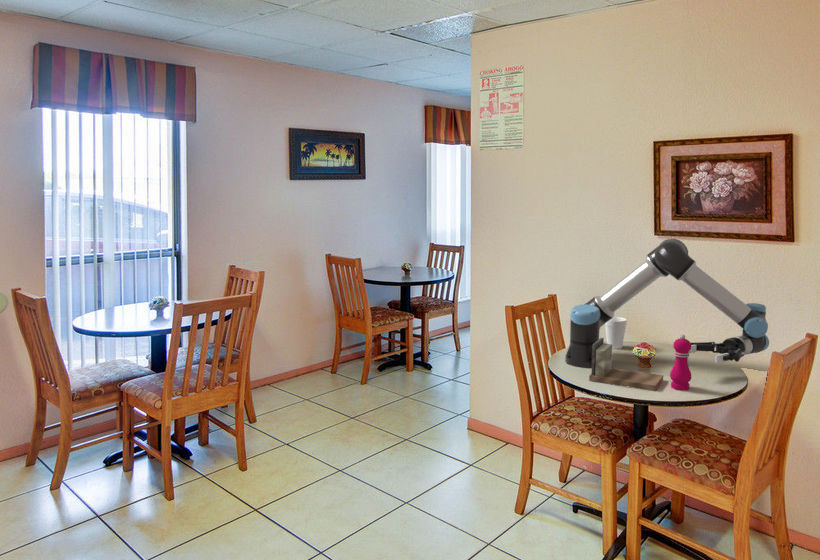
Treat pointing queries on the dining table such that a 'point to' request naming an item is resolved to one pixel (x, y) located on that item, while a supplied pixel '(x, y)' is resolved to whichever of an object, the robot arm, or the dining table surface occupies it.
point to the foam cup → (615, 331)
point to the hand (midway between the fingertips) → (699, 354)
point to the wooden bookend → (618, 370)
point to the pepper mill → (681, 365)
